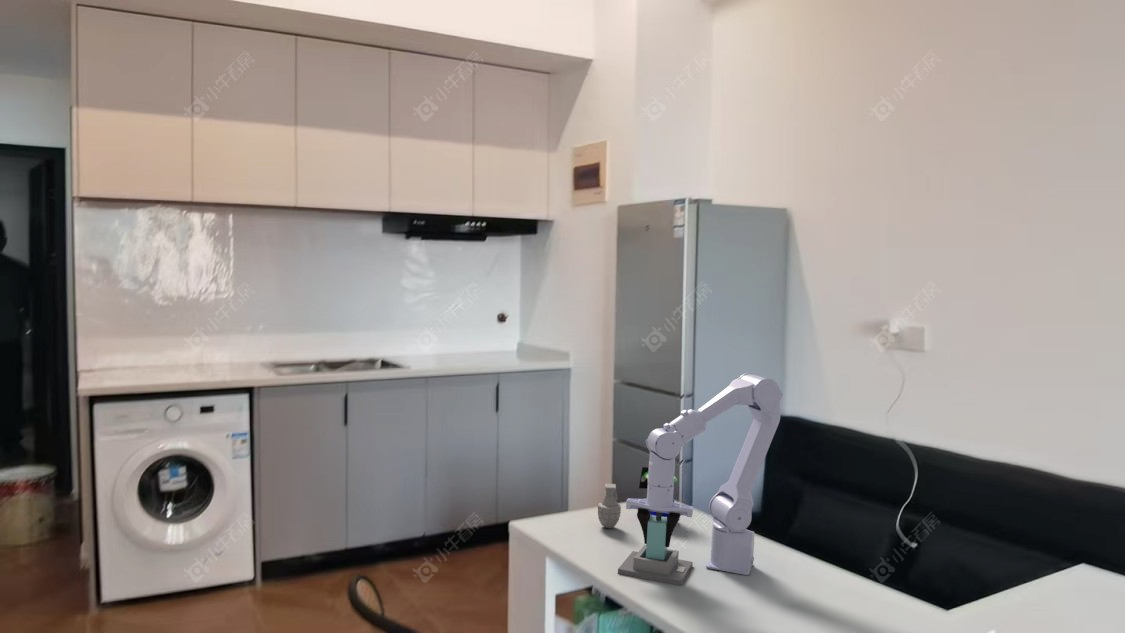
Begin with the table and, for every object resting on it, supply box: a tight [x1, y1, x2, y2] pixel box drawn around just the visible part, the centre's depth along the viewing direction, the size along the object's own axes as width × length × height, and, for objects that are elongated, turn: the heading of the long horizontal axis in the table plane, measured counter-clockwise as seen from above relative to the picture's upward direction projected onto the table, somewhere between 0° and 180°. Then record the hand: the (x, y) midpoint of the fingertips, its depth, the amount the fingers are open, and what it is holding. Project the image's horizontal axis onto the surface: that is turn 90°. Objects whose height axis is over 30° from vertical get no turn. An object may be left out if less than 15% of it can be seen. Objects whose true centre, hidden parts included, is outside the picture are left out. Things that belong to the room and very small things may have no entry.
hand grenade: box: [597, 483, 622, 529], centre depth 198 cm, size 6×6×11 cm
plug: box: [645, 512, 668, 560], centre depth 171 cm, size 4×5×10 cm
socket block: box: [617, 544, 694, 586], centre depth 172 cm, size 14×12×4 cm
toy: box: [638, 466, 678, 517], centre depth 207 cm, size 9×9×15 cm
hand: (657, 544), depth 172 cm, fingers closed on plug, 4 cm apart
